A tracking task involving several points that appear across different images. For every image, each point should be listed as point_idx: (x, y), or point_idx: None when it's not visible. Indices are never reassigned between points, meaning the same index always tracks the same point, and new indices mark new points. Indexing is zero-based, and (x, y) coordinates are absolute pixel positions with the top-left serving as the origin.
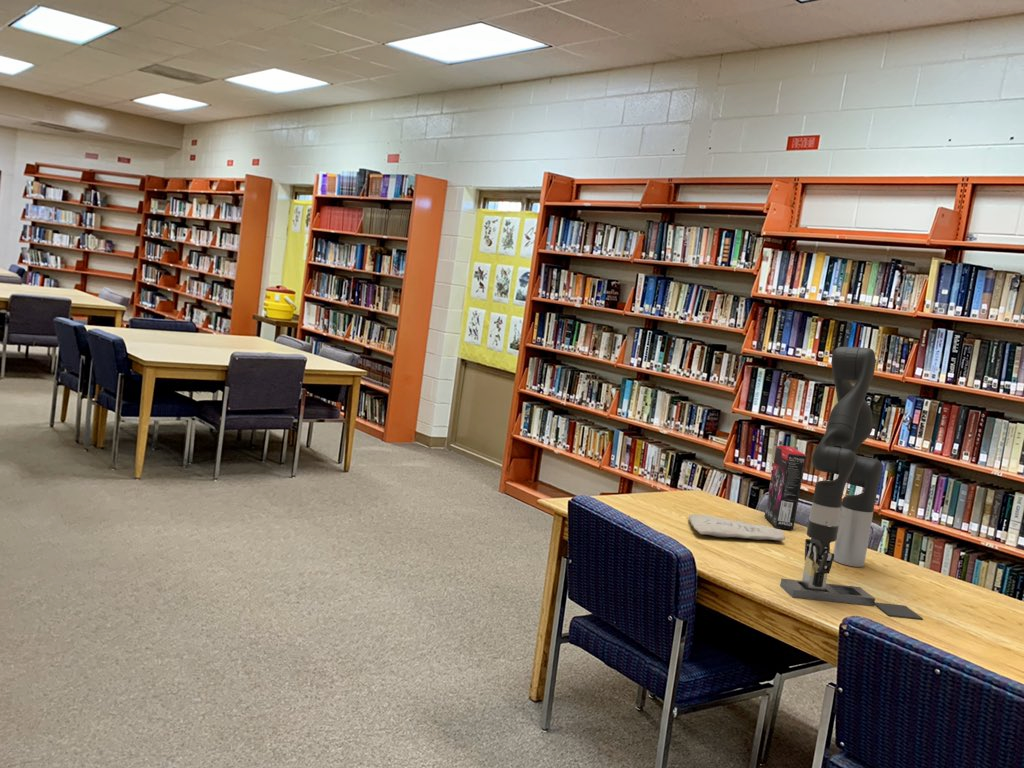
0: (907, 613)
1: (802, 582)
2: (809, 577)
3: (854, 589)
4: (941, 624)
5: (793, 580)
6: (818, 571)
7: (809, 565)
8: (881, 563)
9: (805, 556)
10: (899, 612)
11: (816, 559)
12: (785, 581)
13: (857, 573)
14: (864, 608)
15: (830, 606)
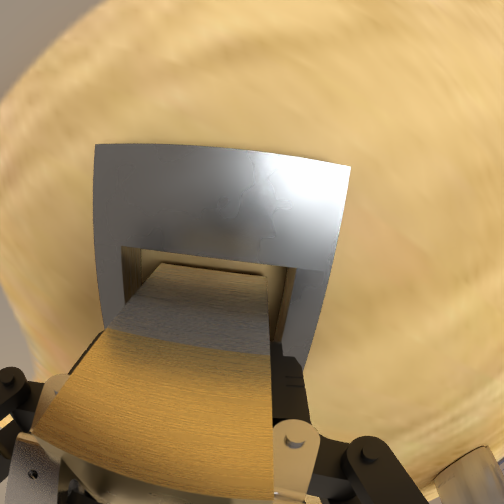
0: None
1: (256, 296)
2: (125, 320)
3: None
4: None
5: (314, 252)
6: (50, 388)
7: (121, 403)
8: (432, 492)
9: (383, 470)
10: None
11: (14, 462)
12: (276, 161)
13: (412, 477)
14: None
15: (63, 303)
